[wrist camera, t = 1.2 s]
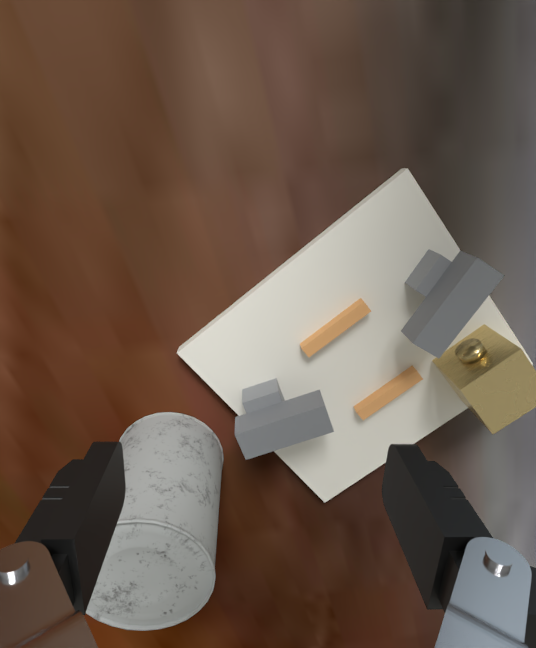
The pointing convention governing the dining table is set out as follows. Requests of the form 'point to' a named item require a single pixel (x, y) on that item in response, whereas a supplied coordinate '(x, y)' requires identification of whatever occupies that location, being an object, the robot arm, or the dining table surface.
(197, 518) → the gray cylinder
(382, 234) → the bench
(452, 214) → the dining table surface
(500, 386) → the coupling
